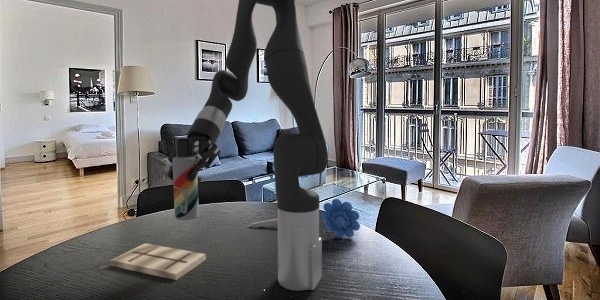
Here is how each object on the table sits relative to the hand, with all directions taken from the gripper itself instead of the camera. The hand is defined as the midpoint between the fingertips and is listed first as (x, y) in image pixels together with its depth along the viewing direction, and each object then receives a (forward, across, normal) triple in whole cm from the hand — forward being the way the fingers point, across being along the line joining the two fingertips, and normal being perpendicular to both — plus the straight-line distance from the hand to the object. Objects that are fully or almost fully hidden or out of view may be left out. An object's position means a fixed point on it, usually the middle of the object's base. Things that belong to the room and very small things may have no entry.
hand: (179, 178), depth 82 cm
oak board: (+16, -6, +14) cm, 23 cm away
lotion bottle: (+6, 0, +9) cm, 11 cm away
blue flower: (-6, +32, +37) cm, 49 cm away
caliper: (-7, +11, +39) cm, 41 cm away
